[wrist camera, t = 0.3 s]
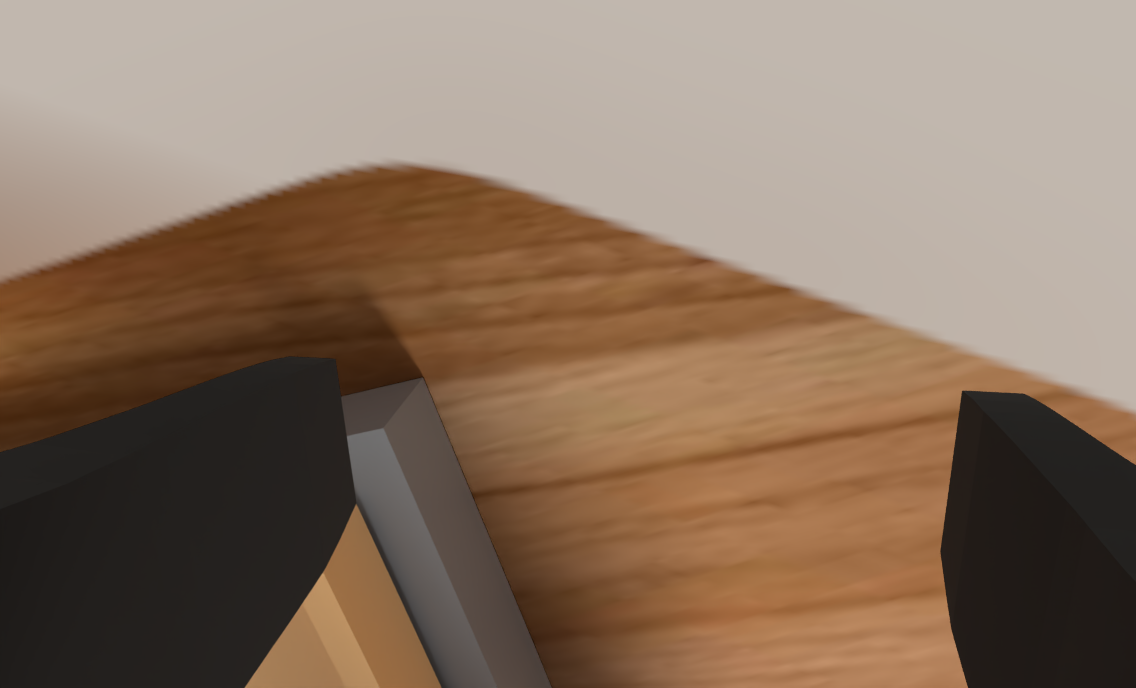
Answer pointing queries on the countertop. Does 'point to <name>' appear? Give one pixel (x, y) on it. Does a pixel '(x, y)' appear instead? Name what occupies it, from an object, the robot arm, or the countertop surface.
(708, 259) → the countertop surface
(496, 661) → the socket plate
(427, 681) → the panel
